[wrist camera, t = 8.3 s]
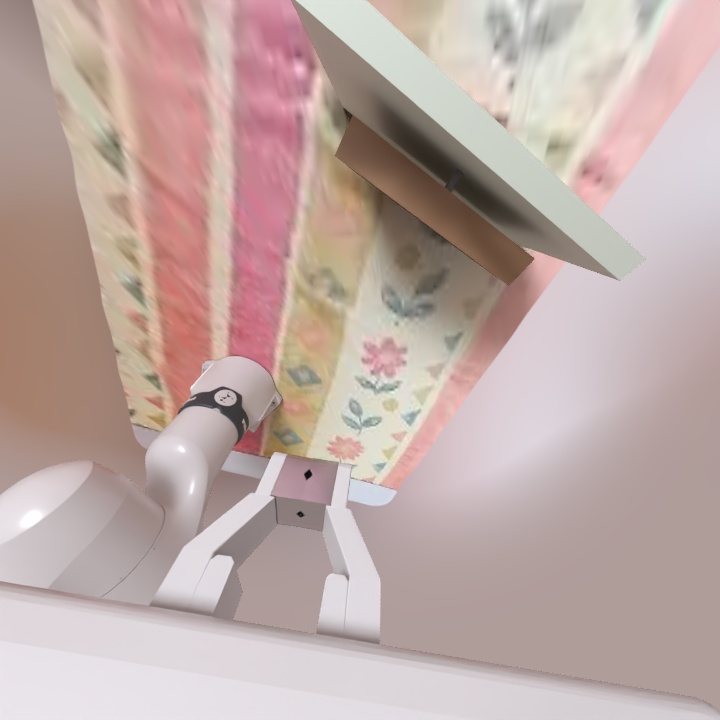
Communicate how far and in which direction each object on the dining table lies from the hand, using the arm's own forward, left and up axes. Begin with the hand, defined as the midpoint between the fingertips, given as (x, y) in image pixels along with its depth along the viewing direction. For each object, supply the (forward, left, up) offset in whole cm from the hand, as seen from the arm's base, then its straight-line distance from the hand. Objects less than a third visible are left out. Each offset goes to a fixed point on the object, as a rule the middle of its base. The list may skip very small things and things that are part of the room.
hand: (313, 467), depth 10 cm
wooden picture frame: (+11, -3, -35) cm, 37 cm away
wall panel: (+15, -2, -39) cm, 42 cm away
